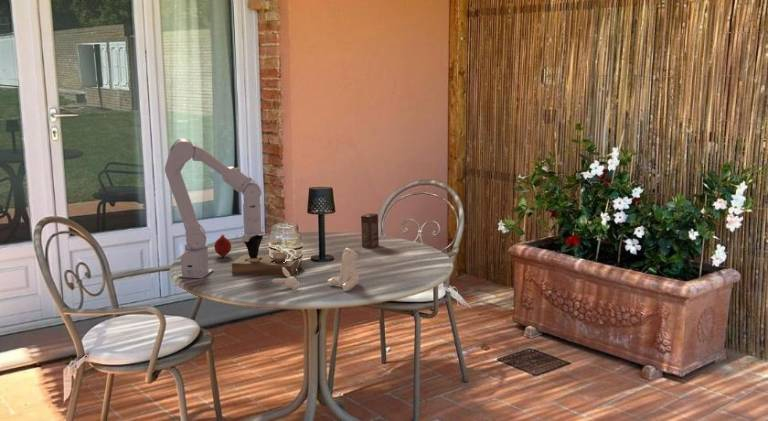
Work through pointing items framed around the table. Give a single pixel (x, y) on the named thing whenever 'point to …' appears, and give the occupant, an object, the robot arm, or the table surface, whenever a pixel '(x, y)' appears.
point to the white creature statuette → (346, 272)
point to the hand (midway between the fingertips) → (253, 257)
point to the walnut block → (263, 266)
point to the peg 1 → (254, 259)
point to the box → (369, 230)
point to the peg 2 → (278, 257)
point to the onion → (222, 246)
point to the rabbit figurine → (287, 280)
